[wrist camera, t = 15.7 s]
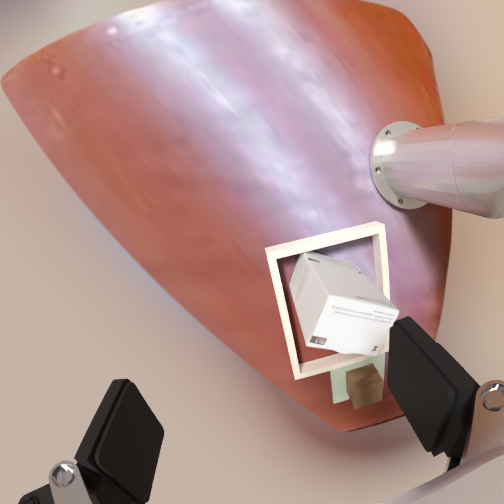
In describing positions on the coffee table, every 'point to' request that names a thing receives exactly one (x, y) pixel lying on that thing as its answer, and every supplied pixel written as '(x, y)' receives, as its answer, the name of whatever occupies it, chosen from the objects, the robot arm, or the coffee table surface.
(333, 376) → the tile
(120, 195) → the coffee table surface
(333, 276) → the skincare box
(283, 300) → the cream rectangular frame
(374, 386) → the walnut block
